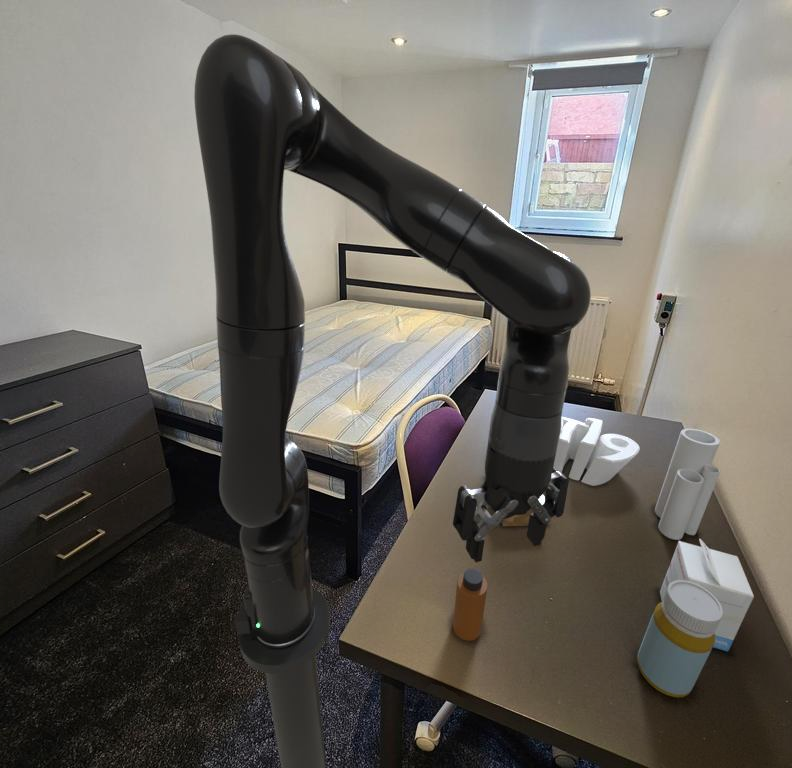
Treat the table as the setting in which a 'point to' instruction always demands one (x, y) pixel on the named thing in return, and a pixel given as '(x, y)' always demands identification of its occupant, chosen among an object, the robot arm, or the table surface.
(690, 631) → the bottle
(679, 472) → the vase
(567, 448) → the white foam letters
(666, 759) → the table surface
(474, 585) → the small bottle
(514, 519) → the hole block
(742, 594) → the tissue box
